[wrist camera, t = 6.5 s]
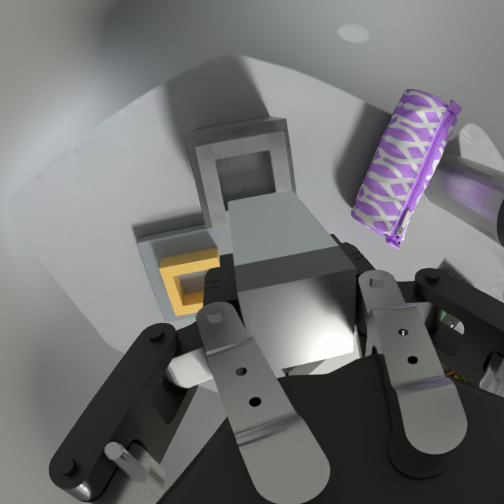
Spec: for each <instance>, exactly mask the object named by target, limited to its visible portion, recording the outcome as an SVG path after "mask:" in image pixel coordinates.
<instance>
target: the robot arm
mask: <svg viewBox="0 0 504 504" xmlns="http://www.w3.org/2000/svg"><path fill="white" fill-rule="evenodd" d="M424 191H425V194H426V196H427V198H428V199H429V200H430V201H431V202H432V203H434V204H435V205H437V206H439V207H441V208H442V209H444V210H446V211H447V212H449V213H451V214H452V215H454V216H456V217H457V218H459V219H461V220H462V221H464V222H466V223H467V224H469V225H471V226H472V227H474V228H475V229H477V230H478V231H480V232H482V233H483V234H485V235H486V236H488V237H489V238H491V239H492V240H494V241H495V242H497V243H498V244H500V245H501V246H503V247H504V172H501V171H499V170H496V169H493V168H491V167H488V166H485V165H483V164H480V163H477V162H474V161H471V160H469V159H466V158H463V157H460V156H457V155H454V154H451V153H447V152H443V154H442V157H441V159H440V161H439V163H438V165H437V167H436V169H435V171H434V173H433V175H432V177H431V179H430V181H429V183H428V186H427V187H426V189H425V190H424ZM330 236H331V237H332V238H333V239H334V241H335V242H336V243H337V244H338V246H339V247H340V248H341V249H342V251H343V252H344V253H345V254H346V256H347V257H348V258H349V259H350V261H351V262H352V263H353V264H354V266H355V267H356V304H355V325H356V339H357V345H358V350H359V356H360V358H359V359H356V360H354V361H352V362H350V363H348V364H346V365H344V366H342V367H340V368H338V369H336V370H334V371H332V372H330V373H327V374H313V375H290V376H286V377H281V378H276V376H275V375H274V373H273V371H272V369H271V367H270V366H269V364H268V362H267V360H266V358H265V357H264V355H263V353H262V351H261V349H260V348H259V346H258V344H257V342H256V340H255V339H254V337H249V335H248V333H247V332H246V329H245V324H244V320H243V316H242V312H241V307H240V303H239V299H238V294H237V287H236V277H235V268H234V258H233V253H230V254H224V255H220V267H215V268H210V269H209V270H208V272H207V273H206V274H205V279H204V296H203V307H202V308H201V309H200V310H199V311H198V312H197V314H196V322H194V323H193V324H191V325H189V326H187V327H184V328H182V329H179V330H177V331H176V330H175V328H174V327H173V326H172V325H171V324H168V323H158V324H154V325H151V326H149V327H147V328H146V329H145V330H143V331H142V332H141V334H140V335H139V336H138V338H137V339H136V340H135V342H134V343H133V344H132V346H131V347H130V348H129V350H128V351H127V352H126V354H125V355H124V356H123V358H122V359H121V360H120V362H119V363H118V365H117V366H116V367H115V369H114V370H113V371H112V373H111V374H110V376H109V377H108V379H107V380H106V381H105V382H104V384H103V385H102V387H101V388H100V390H99V391H98V392H97V394H96V395H95V396H94V398H93V399H92V401H91V402H90V403H89V405H88V406H87V408H86V409H85V411H84V412H83V413H82V415H81V416H80V418H79V419H78V421H77V422H76V424H75V425H74V427H73V428H72V429H71V431H70V432H69V434H68V435H67V437H66V438H65V440H64V441H63V443H62V444H61V446H60V447H59V449H58V450H57V451H56V453H55V455H54V456H53V458H52V459H51V462H50V465H49V475H50V478H51V480H52V481H53V482H54V484H55V485H57V486H58V487H59V488H61V489H62V490H64V491H66V492H67V493H68V494H70V495H71V496H72V497H73V498H74V499H76V500H77V501H79V502H80V503H82V504H504V303H503V302H501V301H499V300H497V299H495V298H493V297H491V296H490V295H488V294H486V293H484V292H482V291H480V290H478V289H476V288H474V287H472V286H471V285H469V284H467V283H465V282H463V281H461V280H459V279H457V278H455V277H453V276H451V275H449V274H447V273H445V272H443V271H441V270H438V269H434V268H425V269H421V270H419V271H418V272H417V273H416V275H415V281H406V282H397V281H396V280H395V278H394V277H393V275H391V274H390V273H388V272H386V271H382V270H376V269H375V268H374V267H373V266H372V265H371V264H370V262H369V261H368V260H367V259H366V258H364V256H363V254H362V253H360V251H359V250H358V249H357V248H356V247H355V246H354V245H351V244H349V243H347V242H345V243H341V242H340V241H339V240H338V238H337V237H336V236H335V235H334V234H330ZM443 311H445V312H447V313H448V314H450V315H452V316H453V317H455V318H457V319H458V320H460V321H461V322H462V324H463V325H464V334H463V335H462V334H461V333H459V332H457V331H456V330H454V329H453V328H451V327H449V326H448V325H446V324H444V323H443V322H441V317H442V313H443ZM440 362H442V363H443V364H445V365H446V366H447V367H449V368H450V369H452V370H453V371H455V372H456V373H457V374H459V375H460V376H462V377H463V378H464V379H466V380H467V381H469V382H470V383H471V384H473V385H471V384H469V383H466V382H464V381H461V380H459V379H456V378H454V377H452V376H449V375H447V374H444V371H443V369H442V366H441V363H440ZM212 378H214V379H215V382H216V385H217V388H218V391H219V394H220V397H221V400H222V402H223V405H224V408H225V411H226V413H227V417H226V419H225V420H224V421H223V423H222V424H221V425H220V427H219V428H218V429H217V431H216V432H215V433H214V435H213V436H212V437H211V438H210V439H209V441H208V442H207V443H206V445H205V446H204V447H203V448H202V450H201V451H200V452H199V453H198V454H197V456H196V457H195V458H194V459H193V461H192V462H191V463H190V464H189V466H188V467H187V468H186V469H185V470H184V472H183V473H182V474H181V475H180V476H179V477H178V479H177V480H176V481H175V482H174V483H173V485H172V486H171V487H170V488H169V489H168V490H167V491H166V492H165V494H164V495H163V485H164V481H165V473H164V470H163V468H162V467H161V465H160V463H161V461H162V459H163V457H164V455H165V453H166V451H167V449H168V447H169V445H170V443H171V441H172V438H173V437H174V435H175V433H176V431H177V429H178V426H179V424H180V423H181V421H182V418H183V417H184V415H185V413H186V411H187V408H188V407H189V405H190V402H191V400H192V398H193V396H194V394H195V392H196V390H197V388H198V384H200V383H202V382H205V381H207V380H210V379H212Z"/></svg>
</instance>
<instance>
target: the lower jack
mask: <svg viewBox="0 0 504 504" xmlns="http://www.w3.org/2000/svg"><path fill="white" fill-rule="evenodd" d="M137 246H138V249H139V252H140V255H141V258H142V261H143V263H144V266H145V269H146V272H147V275H148V278H149V280H150V283H151V286H152V288H153V291H154V294H155V296H156V299H157V302H158V304H159V307H160V309H161V312H162V314H163V317H164V319H165V322H169V321H175V320H182V319H188V318H194V317H196V314H197V312H198V311H199V310H200V309H201V308H202V307H203V296H204V279H205V274H206V273H207V272H208V270H209V269H210V268H215V267H220V255H224V254H230V253H233V249H232V239H231V229H230V226H226V227H221V228H216V229H213V228H209V229H206V226H205V224H202V225H197V226H192V227H187V228H182V229H178V230H173V231H168V232H163V233H159V234H154V235H150V236H145V237H140V238H139V240H138V242H137Z"/></svg>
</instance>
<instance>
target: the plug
mask: <svg viewBox="0 0 504 504" xmlns="http://www.w3.org/2000/svg"><path fill="white" fill-rule="evenodd" d="M228 208H229V218H230V229H231V239H232V249H233V258H234V268H235V277H236V287H237V294H238V299H239V303H240V307H241V312H242V316H243V320H244V324H245V329H246V332H247V333H248V335H249V337H254V339H255V340H256V342H257V344H258V346H259V348H260V349H261V351H262V353H263V355H264V357H265V358H266V360H267V362H268V364H269V366H270V367H271V369H272V371H273V370H278V369H283V368H288V367H293V366H297V365H302V364H306V363H310V362H315V361H319V360H323V359H327V358H331V357H335V356H339V355H343V354H346V353H350V352H353V343H354V327H355V304H356V267H355V266H354V264H353V263H352V262H351V261H350V259H349V258H348V257H347V256H346V254H345V253H344V252H343V251H342V249H341V248H340V247H339V246H338V244H337V243H336V242H335V241H334V239H333V238H332V237H331V236H330V234H329V233H328V232H327V231H326V230H325V228H324V227H323V226H322V225H321V224H320V222H319V221H318V220H317V219H316V218H315V216H314V215H313V214H312V213H311V212H310V210H309V209H308V208H307V207H306V206H305V205H304V203H303V202H302V201H301V200H300V199H299V198H298V196H297V195H296V194H295V193H294V192H293V191H292V190H289V191H283V192H277V193H271V194H266V195H260V196H255V197H249V198H244V199H238V200H233V201H228Z"/></svg>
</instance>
